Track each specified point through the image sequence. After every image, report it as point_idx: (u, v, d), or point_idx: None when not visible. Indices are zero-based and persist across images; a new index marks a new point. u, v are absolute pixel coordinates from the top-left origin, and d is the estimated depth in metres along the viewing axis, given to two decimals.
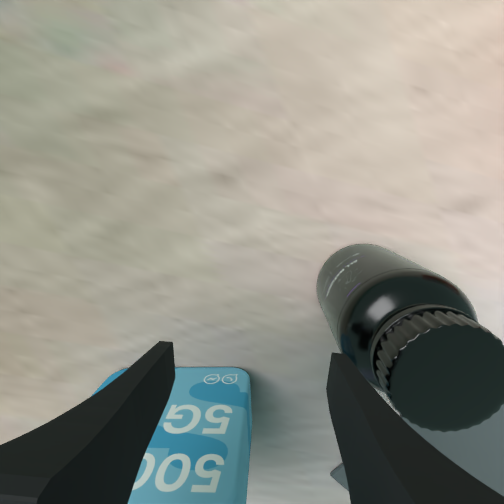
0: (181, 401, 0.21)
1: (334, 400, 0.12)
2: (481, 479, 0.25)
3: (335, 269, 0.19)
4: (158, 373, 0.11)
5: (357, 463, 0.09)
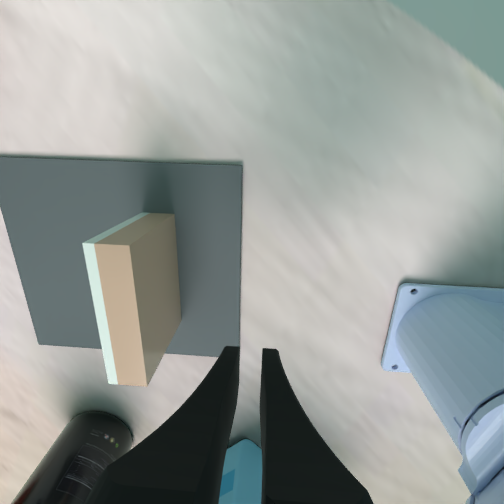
0: None
1: (261, 394, 0.12)
2: None
3: None
4: (233, 379, 0.11)
5: (263, 455, 0.09)
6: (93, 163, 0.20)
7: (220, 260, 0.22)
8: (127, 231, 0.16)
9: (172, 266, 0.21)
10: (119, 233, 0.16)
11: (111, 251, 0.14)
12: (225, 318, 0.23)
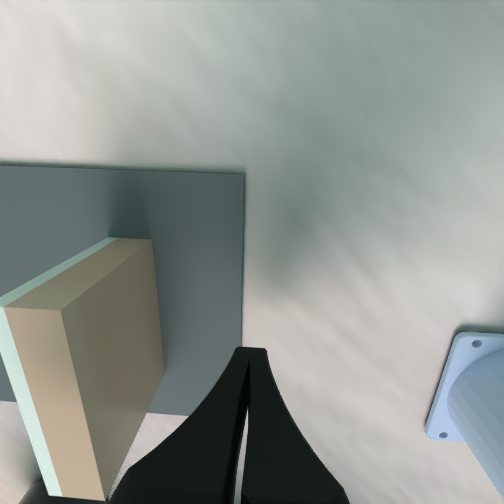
0: None
1: (249, 394, 0.12)
2: None
3: None
4: (246, 380, 0.11)
5: None
6: (38, 171, 0.14)
7: (215, 300, 0.16)
8: (71, 276, 0.11)
9: (149, 311, 0.15)
10: (57, 281, 0.10)
11: (32, 319, 0.09)
12: (222, 372, 0.18)
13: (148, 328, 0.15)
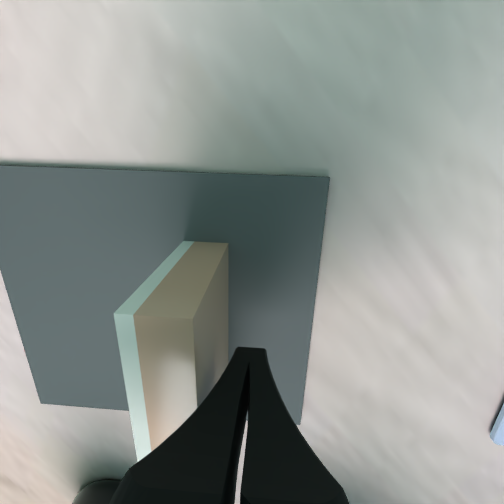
0: None
1: (248, 393, 0.12)
2: None
3: None
4: (247, 380, 0.11)
5: None
6: (118, 174, 0.14)
7: (287, 304, 0.16)
8: (177, 282, 0.11)
9: (224, 316, 0.15)
10: (166, 287, 0.10)
11: (161, 327, 0.09)
12: (287, 376, 0.18)
13: (224, 333, 0.15)
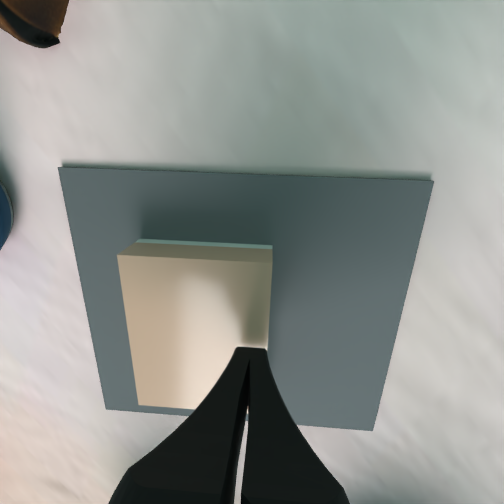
0: None
1: (248, 393, 0.12)
2: None
3: None
4: (246, 380, 0.11)
5: None
6: (213, 177, 0.14)
7: (374, 309, 0.16)
8: (174, 248, 0.14)
9: (243, 331, 0.14)
10: (167, 246, 0.14)
11: None
12: (365, 382, 0.17)
13: (236, 345, 0.14)
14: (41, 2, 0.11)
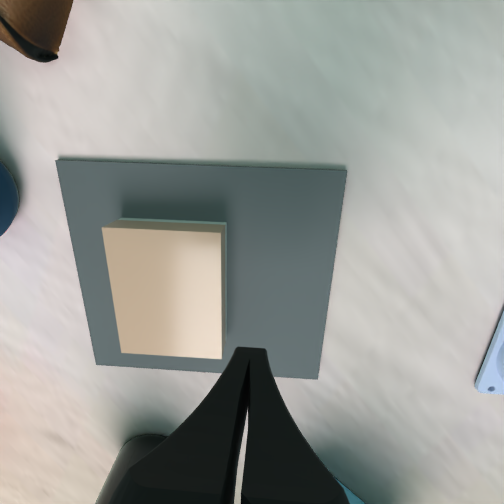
0: None
1: (248, 393, 0.12)
2: None
3: None
4: (246, 380, 0.11)
5: None
6: (177, 168, 0.18)
7: (310, 274, 0.20)
8: (147, 223, 0.18)
9: (201, 288, 0.18)
10: (142, 222, 0.18)
11: None
12: (308, 337, 0.21)
13: (197, 300, 0.18)
14: (44, 29, 0.15)
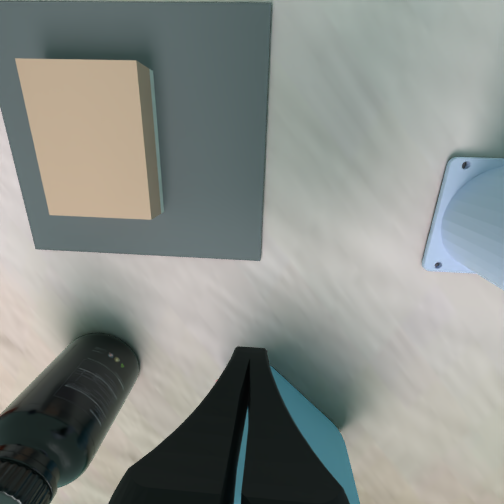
0: None
1: (248, 393, 0.12)
2: None
3: None
4: (246, 379, 0.11)
5: None
6: (98, 6, 0.17)
7: (243, 132, 0.19)
8: None
9: (122, 131, 0.17)
10: None
11: None
12: (246, 209, 0.21)
13: (119, 146, 0.17)
14: None
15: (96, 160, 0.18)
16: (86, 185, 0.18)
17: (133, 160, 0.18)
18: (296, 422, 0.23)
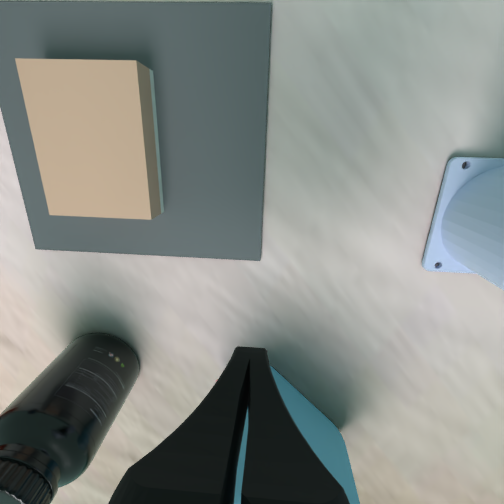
0: None
1: (248, 393, 0.12)
2: None
3: None
4: (246, 379, 0.11)
5: None
6: (98, 6, 0.17)
7: (243, 132, 0.19)
8: None
9: (122, 131, 0.17)
10: None
11: None
12: (246, 209, 0.21)
13: (119, 146, 0.17)
14: None
15: (96, 160, 0.18)
16: (86, 185, 0.18)
17: (133, 160, 0.18)
18: (296, 422, 0.23)
